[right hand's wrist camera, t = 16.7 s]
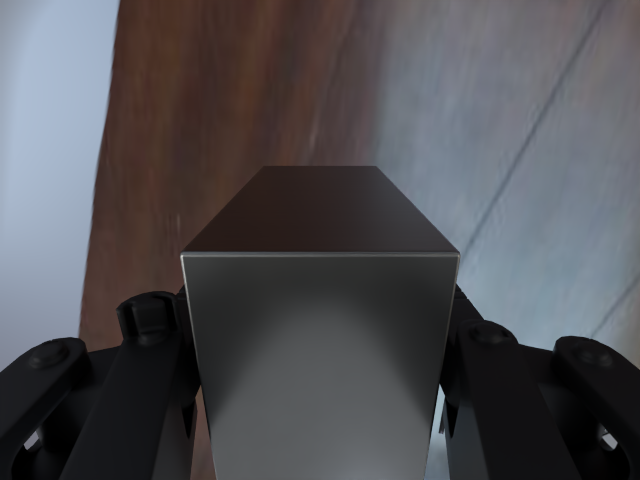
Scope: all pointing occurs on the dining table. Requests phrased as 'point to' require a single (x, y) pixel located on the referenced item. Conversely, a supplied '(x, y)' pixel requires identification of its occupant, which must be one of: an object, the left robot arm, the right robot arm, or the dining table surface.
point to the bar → (320, 326)
